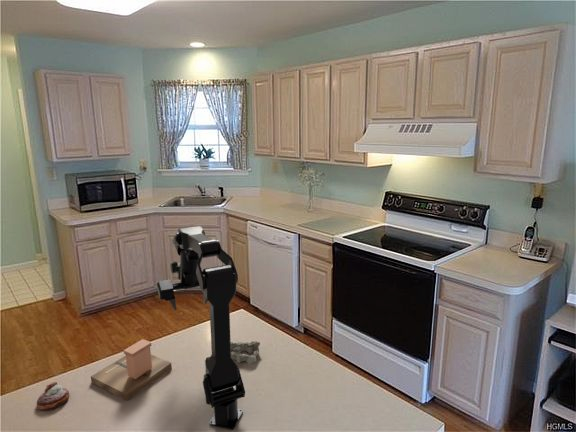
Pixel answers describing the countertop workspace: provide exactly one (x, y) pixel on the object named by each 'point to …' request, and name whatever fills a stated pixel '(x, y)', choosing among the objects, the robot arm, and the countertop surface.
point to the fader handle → (138, 358)
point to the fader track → (123, 385)
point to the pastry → (52, 397)
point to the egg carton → (245, 346)
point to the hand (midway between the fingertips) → (190, 306)
